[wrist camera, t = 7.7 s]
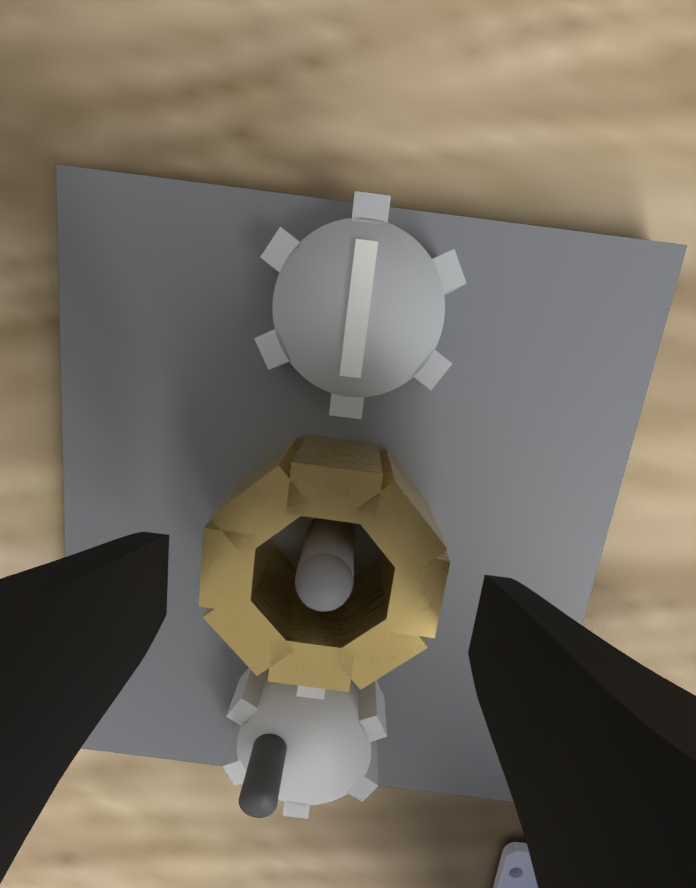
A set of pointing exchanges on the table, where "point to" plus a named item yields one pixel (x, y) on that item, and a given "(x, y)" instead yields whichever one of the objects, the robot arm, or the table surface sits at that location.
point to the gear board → (345, 417)
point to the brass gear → (273, 576)
